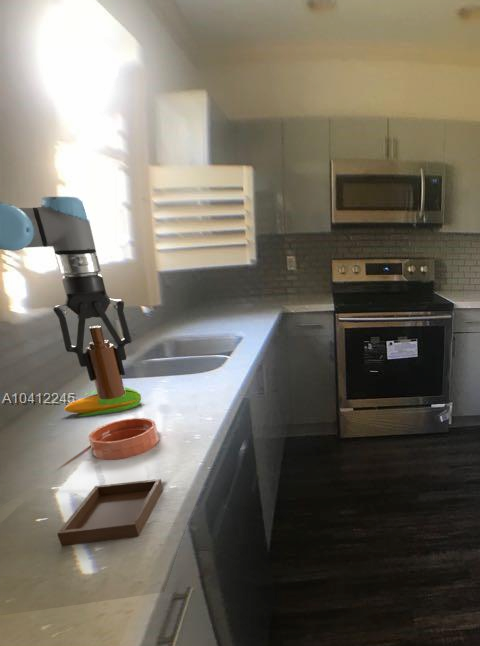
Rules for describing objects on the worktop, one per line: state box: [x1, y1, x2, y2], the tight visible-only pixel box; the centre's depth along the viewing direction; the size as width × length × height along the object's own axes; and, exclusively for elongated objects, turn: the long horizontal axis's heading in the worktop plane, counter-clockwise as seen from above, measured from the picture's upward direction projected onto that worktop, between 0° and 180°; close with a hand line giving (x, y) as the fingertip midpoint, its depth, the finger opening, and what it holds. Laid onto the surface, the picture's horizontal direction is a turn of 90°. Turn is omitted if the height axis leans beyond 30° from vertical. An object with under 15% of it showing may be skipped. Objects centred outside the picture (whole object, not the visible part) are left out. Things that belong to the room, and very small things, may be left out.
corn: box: [64, 386, 142, 418], centre depth 135 cm, size 7×8×20 cm
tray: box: [56, 478, 164, 547], centre depth 87 cm, size 16×13×3 cm
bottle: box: [85, 325, 125, 399], centre depth 106 cm, size 6×6×16 cm
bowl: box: [88, 417, 160, 461], centre depth 113 cm, size 14×14×5 cm
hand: (107, 376), depth 107 cm, fingers closed on bottle, 6 cm apart
